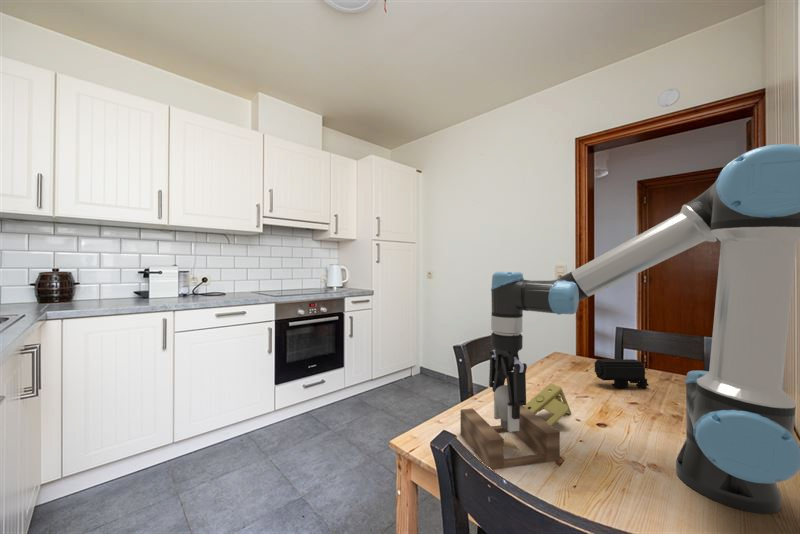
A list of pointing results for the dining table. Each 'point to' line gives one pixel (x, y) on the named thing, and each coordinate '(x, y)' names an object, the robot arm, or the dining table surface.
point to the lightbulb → (502, 404)
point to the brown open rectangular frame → (492, 444)
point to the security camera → (621, 372)
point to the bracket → (550, 403)
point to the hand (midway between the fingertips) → (506, 423)
